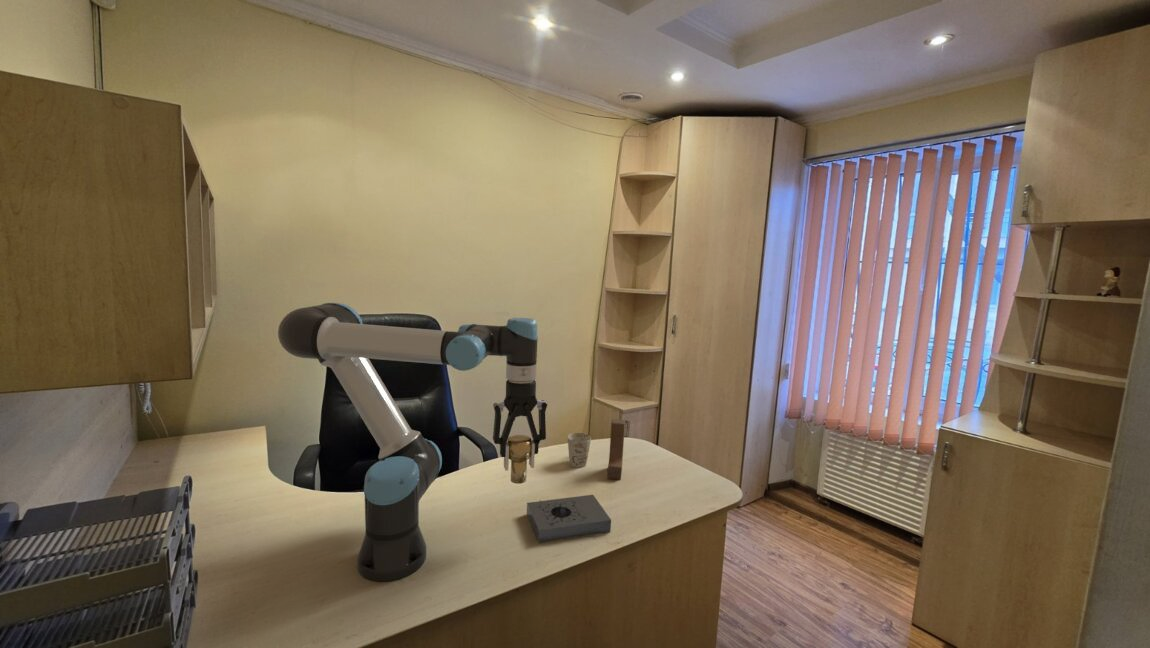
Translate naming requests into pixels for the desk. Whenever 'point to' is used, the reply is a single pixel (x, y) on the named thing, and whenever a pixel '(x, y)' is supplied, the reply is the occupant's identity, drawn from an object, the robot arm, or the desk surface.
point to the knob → (519, 457)
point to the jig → (567, 518)
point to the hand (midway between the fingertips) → (518, 466)
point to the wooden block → (616, 449)
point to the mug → (578, 449)
